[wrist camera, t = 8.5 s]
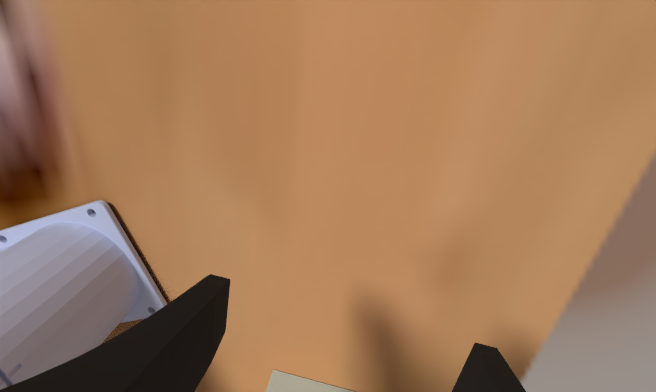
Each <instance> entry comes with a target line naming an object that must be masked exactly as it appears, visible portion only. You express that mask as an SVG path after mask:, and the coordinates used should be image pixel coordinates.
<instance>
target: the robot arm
mask: <svg viewBox="0 0 656 392" xmlns="http://www.w3.org/2000/svg"><path fill="white" fill-rule="evenodd" d="M92 210H94V211H95V213H94V212H93V211H92ZM229 287H230V279H227V278H223V277H219V276H215V275H212V274H210V275H208V276H207V277H205V278H204V279H202V280H201V281H200V282H198V283H197V284H195V285H194V286H193V287H191V288H190V289H189V290H187V291H186V292H184V293H183V294H181V295H180V296H179V297H177V298H176V299H174V300H173V301H171V302H170V303H168V304H167V303H166V301H165V299H164V298H163V296H162V294H161V292H160V291H159V289H158V287H157V286H156V284H155V282H154V281H153V279H152V277H151V276H150V274H149V272H148V270H147V269H146V267H145V265H144V264H143V262H142V260H141V259H140V257H139V255H138V254H137V252H136V250H135V249H134V247H133V245H132V243H131V242H130V240H129V238H128V237H127V235H126V233H125V232H124V230H123V228H122V227H121V225H120V223H119V222H118V220H117V218H116V216H115V215H114V213H113V211H112V210H111V208H110V206H109V205H108V204H107V203H106V202H104V201H102V200H98V201H94V202H91V203H88V204H85V205H81V206H78V207H75V208H72V209H68V210H65V211H62V212H59V213H55V214H52V215H49V216H45V217H42V218H39V219H36V220H32V221H29V222H26V223H23V224H19V225H16V226H13V227H10V228H6V229H3V230H0V392H194V391H195V389H196V388H197V386H198V384H199V383H200V381H201V379H202V378H203V376H204V374H205V372H206V371H207V369H208V367H209V366H210V364H211V362H212V360H213V358H214V355H215V353H216V351H217V349H218V347H219V344H220V342H221V340H222V338H223V335H224V333H225V330H226V319H227V309H228V298H229ZM153 308H154V309H153ZM144 318H146V319H144ZM139 319H144V320H143V321H141V322H139V323H138V324H136V325H134V326H133V327H131V328H129V329H128V330H126V331H124V332H123V333H121V334H119V335H118V336H116V337H114V338H112V339H111V340H109V341H107V342H105V343H103V344H101V343H102V342H103V341H104V340H105V339H106V338H107V337H108V336H109V335H110V334H111V332H112V331H113V330H114V329H115V328H116V327H117V326H118V325H119V324H120V323H124V322H129V321H134V320H139ZM452 392H526V391H525V389H524V388H523V386H522V385H521V383H520V382H519V380H518V379H517V378H516V376H515V374H514V373H513V371H512V370H511V368H510V367H509V365H508V364H507V362H506V361H505V359H504V358H503V356H502V355H501V354H500V352H499V351H498V349H497V348H494V347H490V346H486V345H482V344H478V343H475V344H474V346H473V348H472V350H471V352H470V354H469V356H468V358H467V361H466V363H465V365H464V367H463V369H462V371H461V373H460V375H459V378H458V380H457V382H456V384H455V386H454V388H453V390H452Z"/></svg>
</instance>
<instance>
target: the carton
mask: <svg viewBox="0 0 656 392" xmlns="http://www.w3.org/2000/svg"><path fill="white" fill-rule="evenodd" d="M266 392H354V391H350V390H346V389H343V388H339V387H335V386H332V385H328V384H324V383H321V382H317V381H313V380H310V379H306V378H302V377H299V376H295V375H291V374H288V373H284V372H280V371H277V370H273V373H272V375H271V378H270V381H269V384H268V387H267V390H266Z"/></svg>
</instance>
